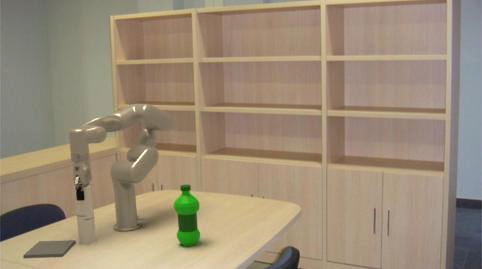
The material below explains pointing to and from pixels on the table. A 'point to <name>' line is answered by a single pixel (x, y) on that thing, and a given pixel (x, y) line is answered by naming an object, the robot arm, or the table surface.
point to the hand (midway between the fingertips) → (83, 197)
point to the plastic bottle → (187, 217)
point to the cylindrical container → (85, 216)
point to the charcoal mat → (50, 249)
